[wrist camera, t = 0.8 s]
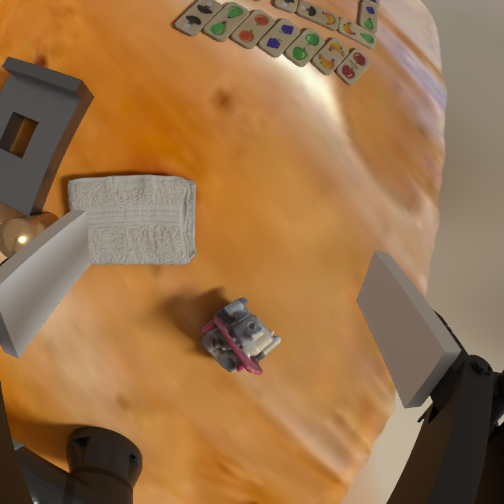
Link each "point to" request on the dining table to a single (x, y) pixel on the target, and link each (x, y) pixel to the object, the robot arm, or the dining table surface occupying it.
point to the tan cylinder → (23, 231)
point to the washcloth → (137, 218)
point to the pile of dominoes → (289, 33)
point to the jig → (36, 130)
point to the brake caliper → (238, 338)
